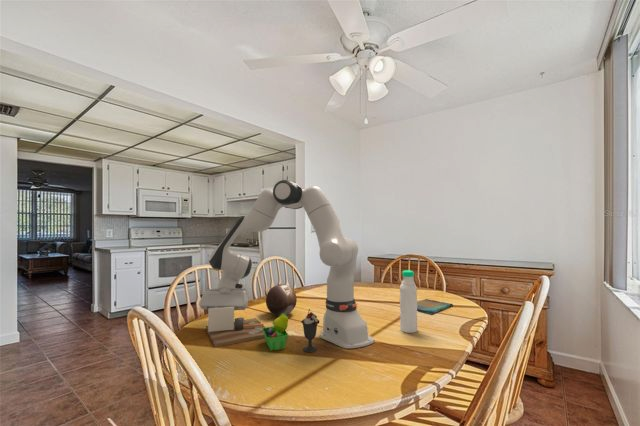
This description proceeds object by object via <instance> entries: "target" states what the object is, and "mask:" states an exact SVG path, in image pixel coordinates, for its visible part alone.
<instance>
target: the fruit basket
mask: <svg viewBox="0 0 640 426" xmlns="http://www.w3.org/2000/svg"><path fill="white" fill-rule="evenodd" d="M288 321H289V317H288V314H287V315H286V314H284V313H282V314H281V315H280V316H277V318H274V320H273V323H272V326H269V327H266V326H265V327H266V328H263V332H264V335H265V338H264V339H265V343H266V345H267V346H268V348H269V350H270V351H277V350H283V349H285V347H286V344H287V340H288V339H287V338H288V337H289V334H288V332H287V331H286V330H287V328H288V323H289V322H288Z"/></svg>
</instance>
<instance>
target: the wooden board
mask: <svg viewBox="0 0 640 426" xmlns="http://www.w3.org/2000/svg"><path fill="white" fill-rule="evenodd" d="M234 323H235V321H234ZM254 324H262V323H261V322H260V321H259V319H257V318H250V319H249V318H248V319H243V329H242V330H235V329H234V330H224V331H212V332H208V325H205V331H206V330H207V331H206V332H208V333H207V335H208V337H209V339H210V340H211V342H212V344H213V346H214V348H217V347H218V346H219V347H223V345H224V346H228V344H229V345H233V344H238V343H245V342H249V340H250V341H253V340H259V339H265V335H264V332H263V328H266V326H265V325H264V324H263V326H257V327H245V328H244V325H254Z"/></svg>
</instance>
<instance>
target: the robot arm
mask: <svg viewBox="0 0 640 426" xmlns="http://www.w3.org/2000/svg"><path fill="white" fill-rule="evenodd" d="M328 198H329V197H327V195H326V194H325V193H324V191H323V190H322V189H321V188H320V187H319V186H316V185H313V186H308V187H307V188H304V187H302V186H300V185H299V184H298V183H296V182H294V181H292V180H288V179H282V180H279V181H278V182H276V183H275V184H274V186H273V189H272V188H266V189H264V190H262V191H261V193H260V194H259V195H258V197H257V199H256V200H255V201H254V202H255V203H253V206H252V208H251V209H250V211H249V212H248V213H247V214H245V215H241V216H239V217H238V218H237V219H236V220H235V222H234V223H232V226H231V227H230V228H229V230H227V233H226V234H225V235H224V237H223V238H222V239H221V241H220V242H219V244H217V246H216V247H215V248H214V249H213V250H212V252H211V254H210V255H209V258H208V263H209V265H210V267H211V269H213V270H217V271H221V277H220V279H219V281H218V284H217V288H207V289H205V290H203V293H202V295H201V298H200V300H199V303H198V305H199V307H200V309H201V310H208V309H209V308H222V307H234V311H245V310H246V309H247V308H248V304H249V303H248V302H249V300H248V299H249V298H248V289H247V287H246V285H244V284H242V283H240V280H242V279H245V278H247V277H248V276H249V274H250V272H251V270H252V265H253V262H252V259H251V257H249V256H248V255H245V254H243V253H240V252H237V251H235V250H231V249H229V248H230V247H231V245H232V244H233V243H234V241H235V240H236V238H237V237H238V235H241V234H242V233H247V232H252V233H253V232H254V233H258V232H264V231H267V230H268V229H270V228H271V226H272V225H273V223H274V221H275V219H276V217H277V215H278V213H279V212H280V210H281V209H282V208H285V209H292V210H298V209H302V208H303V209H304V211H305V213H306V215H307V217H308V219H309V221H310V223H311V225H312V228H313V229H314V231H315V235H316V237H317V241H318V246H319V259H320V260H321V262H322V263H323V264H324V265H326V266H327V267H330V269H329V272H328V276H327V277H326V299H325V308H326V310H325V312H324V314H323V319H322V320H323V321H322V330H321V331H322V332H321V333H320V334H319V338H320V339H323V340H324V341H327V342H330V343H332V344H333V345H336V346H339V347H340V348H342V349H357V348H363V347H367V346H369V345H372V344H373V343H374V342H375V338H374V337H373V336H371V335H370V334H369V331H368V330H369V329H368V324H367V321H366V319H363V317H362V316H361V314H360V313H359V312H358V310H357V309H358V308H357V307H358V303H357V302H356V300H355V295H354V294H355V293H354V292H355V290H354V289H355V288H354V287H355V285H354V283H355V274H356V273H355V272H356V266H357V259H358V258H357V257H358V253H359V245H358V244H357V242H356V241H355V240H354V239H351V238H350V237H344V236H343V233H342V229H341V226H340V225H341V224H340V219H339V217H338V215H337V214H336V212H335V210H334V208H333V205H332V204H331V202H330V200H329V199H328Z"/></svg>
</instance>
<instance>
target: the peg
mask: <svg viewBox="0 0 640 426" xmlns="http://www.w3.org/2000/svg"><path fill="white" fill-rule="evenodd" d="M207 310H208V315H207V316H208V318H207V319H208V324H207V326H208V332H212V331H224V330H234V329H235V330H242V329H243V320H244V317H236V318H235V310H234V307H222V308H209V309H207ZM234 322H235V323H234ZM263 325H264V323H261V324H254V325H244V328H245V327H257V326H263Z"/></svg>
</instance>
